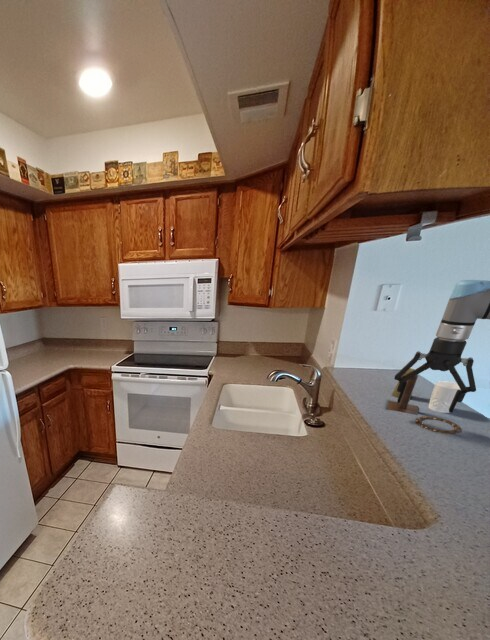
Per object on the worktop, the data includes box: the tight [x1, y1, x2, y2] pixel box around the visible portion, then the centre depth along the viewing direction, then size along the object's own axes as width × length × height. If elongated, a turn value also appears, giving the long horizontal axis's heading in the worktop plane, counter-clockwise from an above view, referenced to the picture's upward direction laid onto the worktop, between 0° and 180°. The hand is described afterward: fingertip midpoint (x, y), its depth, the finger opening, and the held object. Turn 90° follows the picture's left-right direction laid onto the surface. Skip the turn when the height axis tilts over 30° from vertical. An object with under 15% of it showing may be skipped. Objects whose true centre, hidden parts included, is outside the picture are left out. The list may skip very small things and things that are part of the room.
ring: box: [414, 415, 462, 435], centre depth 105 cm, size 12×12×2 cm
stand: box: [386, 374, 419, 416], centre depth 114 cm, size 9×9×14 cm
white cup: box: [428, 380, 461, 414], centre depth 115 cm, size 8×8×10 cm
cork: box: [391, 367, 415, 399], centre depth 128 cm, size 6×6×11 cm
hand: (423, 406), depth 105 cm, fingers open, 13 cm apart
